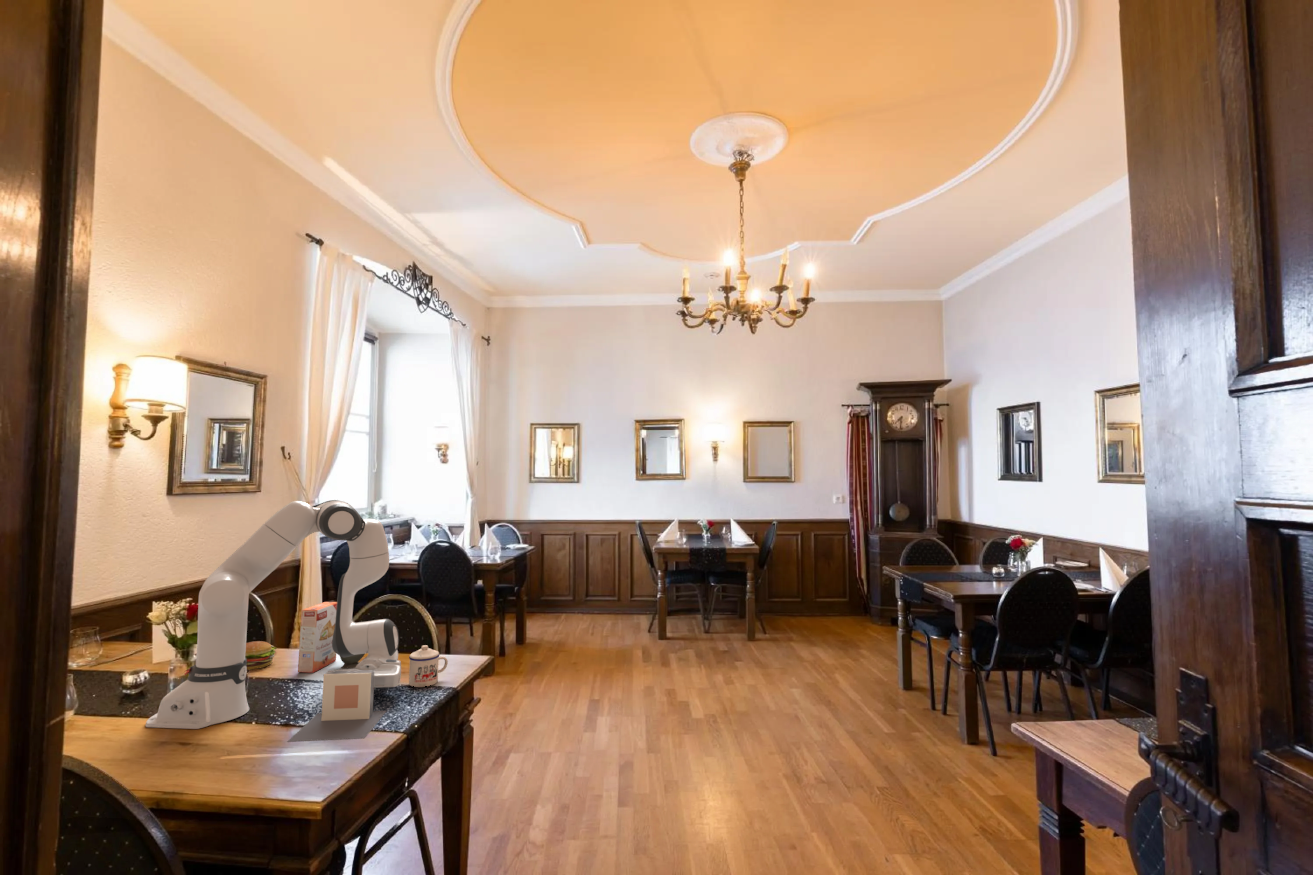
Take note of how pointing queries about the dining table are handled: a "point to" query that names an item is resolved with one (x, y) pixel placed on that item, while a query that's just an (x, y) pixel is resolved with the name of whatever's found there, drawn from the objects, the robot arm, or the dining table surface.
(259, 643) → the food
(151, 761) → the dining table surface
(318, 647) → the cracker box
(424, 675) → the teacup with lid
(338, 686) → the glazed tile
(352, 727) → the felt mat
